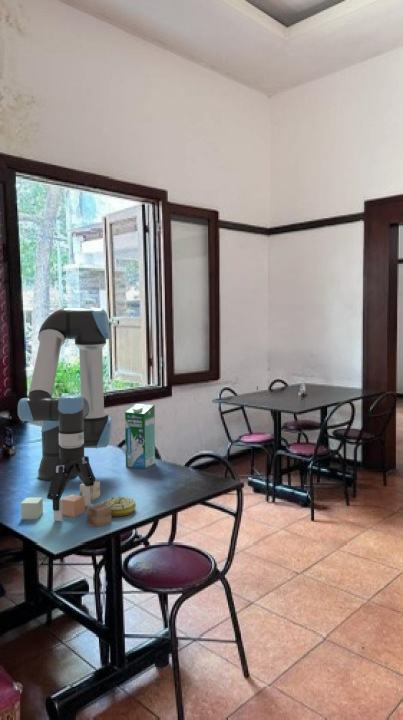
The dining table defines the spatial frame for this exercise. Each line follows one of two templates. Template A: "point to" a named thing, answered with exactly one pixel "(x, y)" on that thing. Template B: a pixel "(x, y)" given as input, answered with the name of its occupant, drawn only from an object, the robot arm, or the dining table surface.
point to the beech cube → (93, 490)
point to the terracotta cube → (73, 505)
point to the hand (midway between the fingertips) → (73, 513)
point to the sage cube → (31, 508)
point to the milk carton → (140, 436)
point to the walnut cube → (98, 514)
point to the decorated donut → (120, 505)
